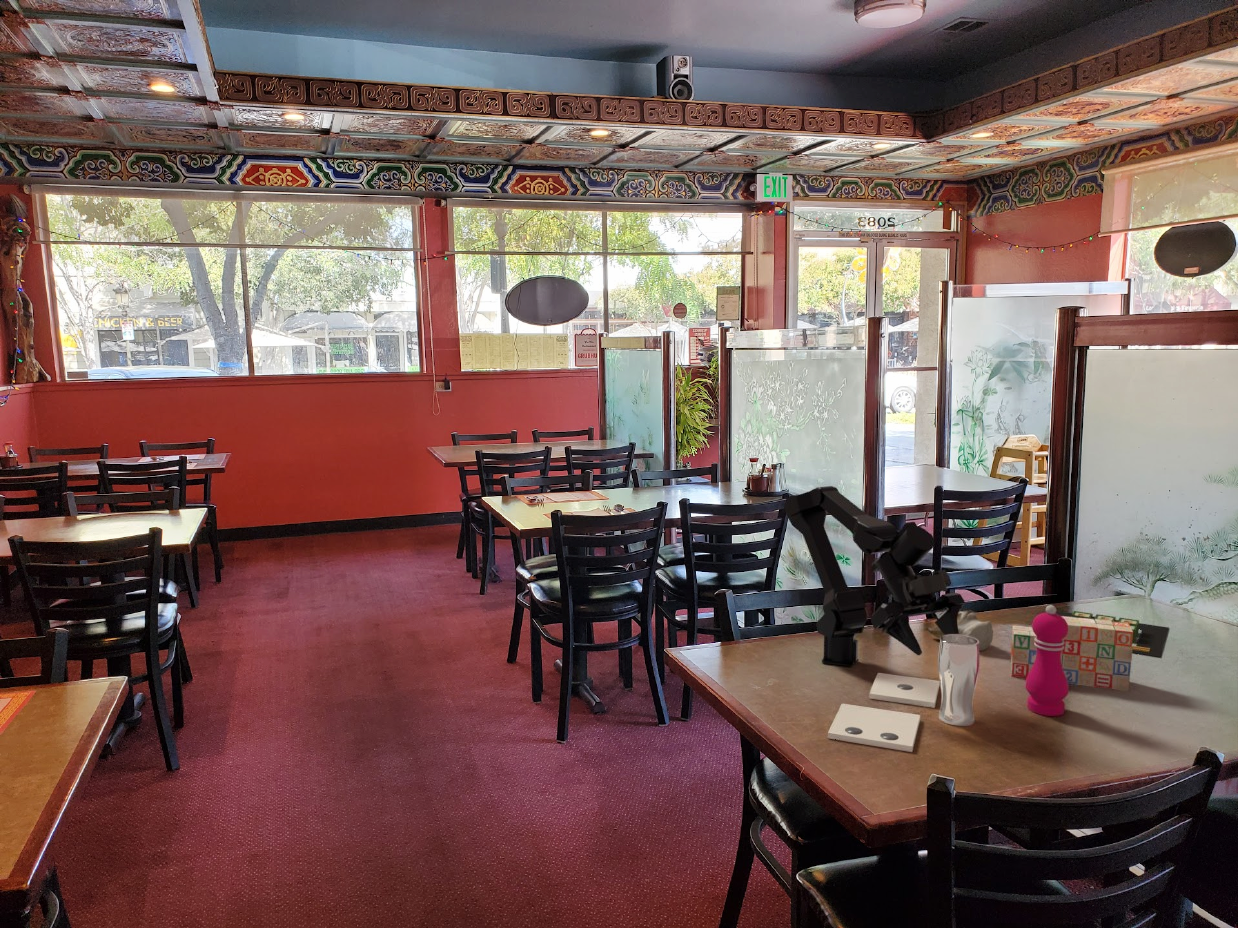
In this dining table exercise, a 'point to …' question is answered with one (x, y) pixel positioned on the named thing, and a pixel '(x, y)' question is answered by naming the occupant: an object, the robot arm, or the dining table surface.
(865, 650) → the dining table surface
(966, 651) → the beer glass
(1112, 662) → the stack of blocks
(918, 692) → the one-dot tile
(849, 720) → the two-dot tile
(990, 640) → the ceramic sculpture
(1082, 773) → the dining table surface
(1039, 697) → the pepper mill
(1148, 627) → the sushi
